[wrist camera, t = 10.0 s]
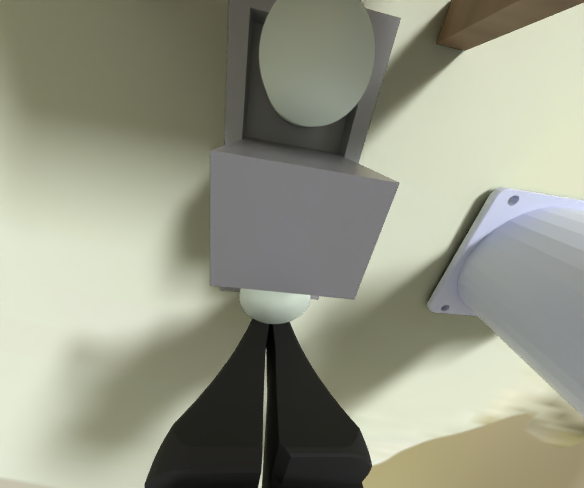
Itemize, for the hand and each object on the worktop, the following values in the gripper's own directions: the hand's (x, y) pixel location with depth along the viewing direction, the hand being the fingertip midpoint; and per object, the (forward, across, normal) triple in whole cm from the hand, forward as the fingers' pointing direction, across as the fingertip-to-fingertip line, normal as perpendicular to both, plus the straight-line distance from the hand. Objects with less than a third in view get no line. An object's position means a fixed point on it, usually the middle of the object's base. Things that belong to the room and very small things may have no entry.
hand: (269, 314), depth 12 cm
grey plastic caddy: (+2, 0, -7) cm, 7 cm away
